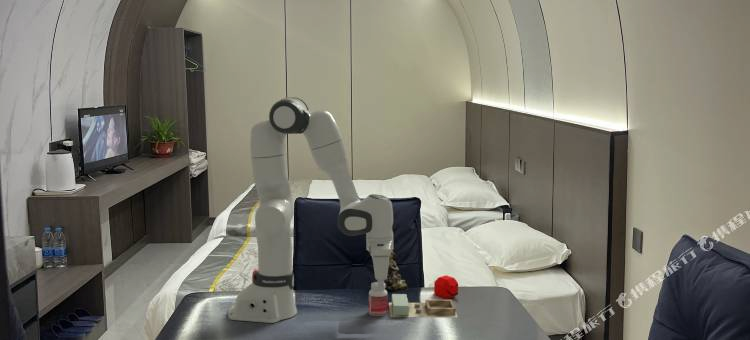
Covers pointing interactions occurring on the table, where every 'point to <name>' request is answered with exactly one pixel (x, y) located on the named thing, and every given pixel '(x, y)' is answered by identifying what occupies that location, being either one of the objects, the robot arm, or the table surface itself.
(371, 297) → the pill bottle
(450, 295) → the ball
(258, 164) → the robot arm
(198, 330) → the table surface
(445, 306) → the base
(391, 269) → the figurine
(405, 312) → the housing cover
